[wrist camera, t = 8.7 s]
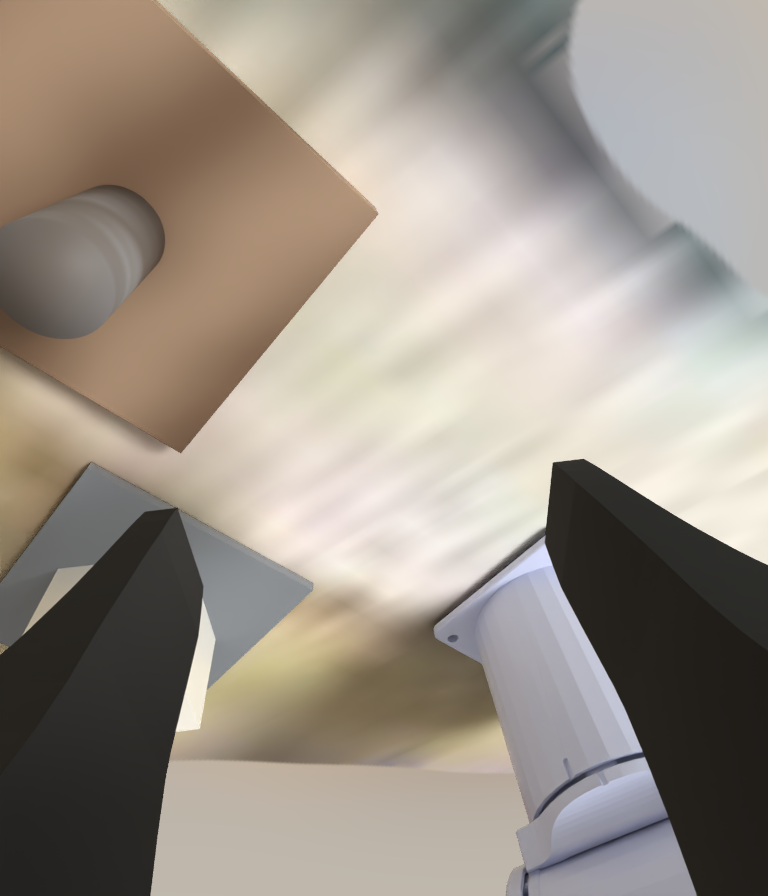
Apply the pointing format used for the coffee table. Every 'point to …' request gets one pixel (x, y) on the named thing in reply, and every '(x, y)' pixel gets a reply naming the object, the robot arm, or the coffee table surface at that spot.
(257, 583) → the mat
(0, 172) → the post stand
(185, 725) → the cream cube
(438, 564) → the coffee table surface
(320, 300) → the coffee table surface
